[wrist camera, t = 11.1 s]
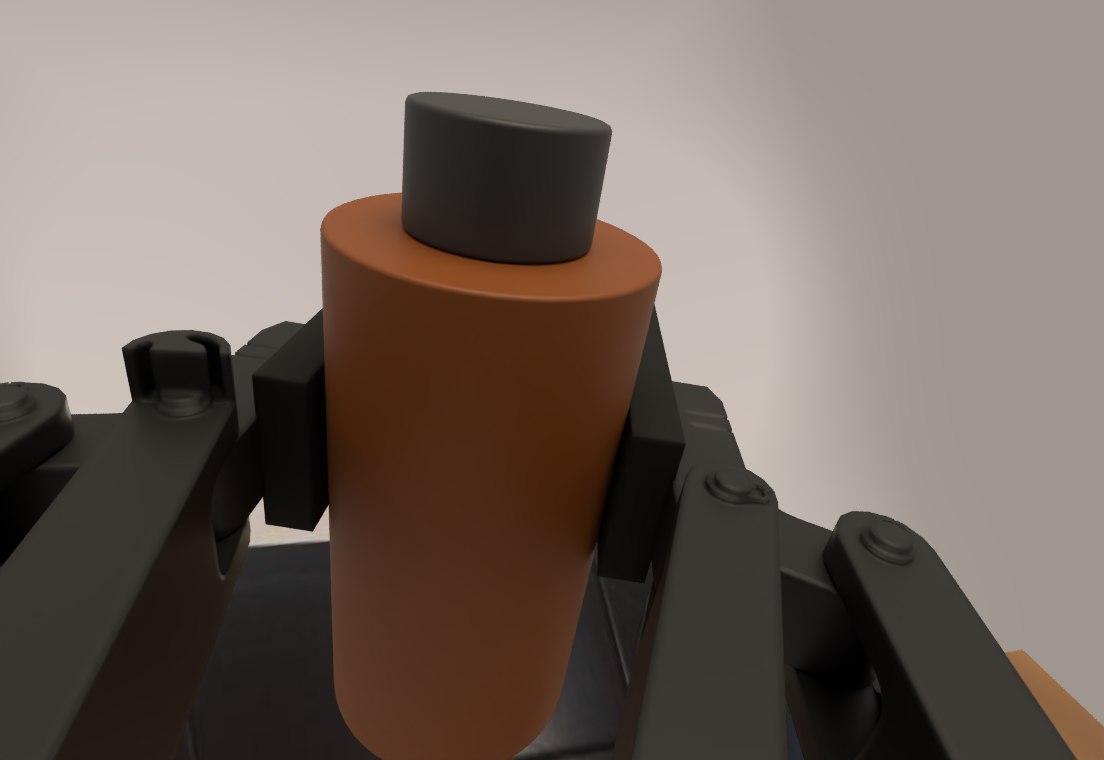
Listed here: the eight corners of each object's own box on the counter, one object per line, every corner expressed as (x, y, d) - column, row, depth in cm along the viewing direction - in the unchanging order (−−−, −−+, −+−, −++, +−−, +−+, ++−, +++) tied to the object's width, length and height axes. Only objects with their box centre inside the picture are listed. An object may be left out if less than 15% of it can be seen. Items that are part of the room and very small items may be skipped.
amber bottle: (579, 606, 15) (693, 125, 10) (535, 812, 11) (692, 169, 6) (394, 557, 15) (411, 76, 10) (285, 735, 11) (225, 82, 6)
